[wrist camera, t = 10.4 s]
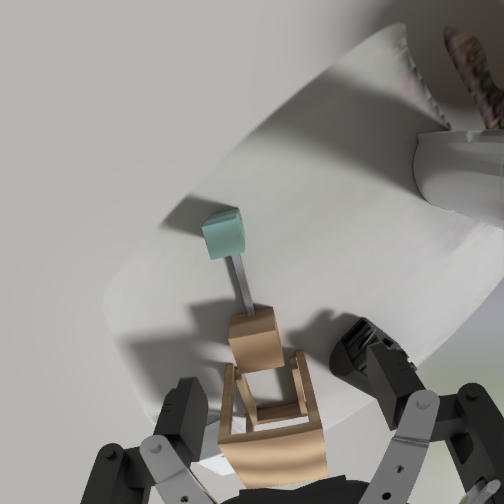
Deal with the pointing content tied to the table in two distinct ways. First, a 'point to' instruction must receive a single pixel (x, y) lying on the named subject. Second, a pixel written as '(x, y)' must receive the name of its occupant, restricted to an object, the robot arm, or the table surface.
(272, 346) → the corded block
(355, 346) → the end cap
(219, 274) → the table surface
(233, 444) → the shelf lane
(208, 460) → the product box
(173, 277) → the table surface
